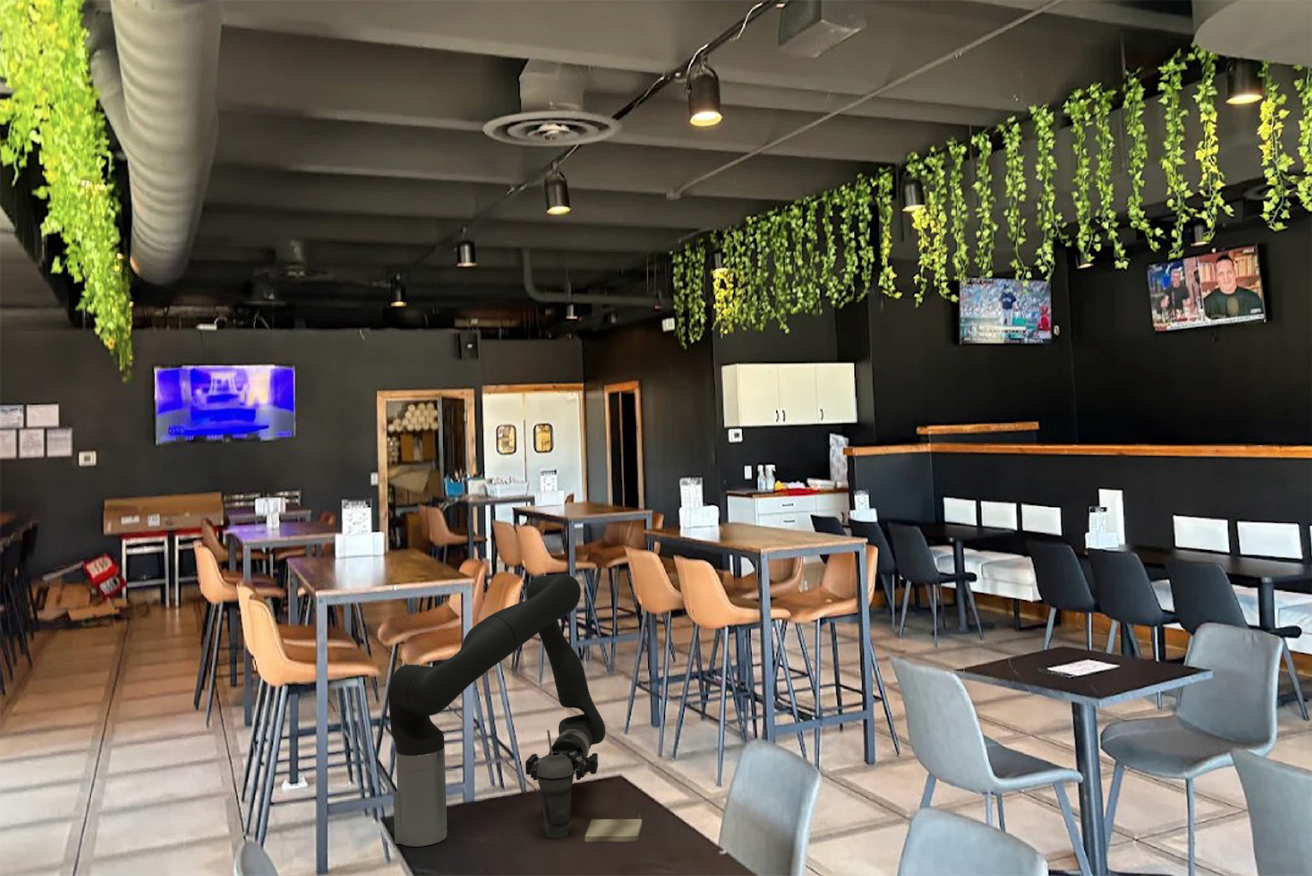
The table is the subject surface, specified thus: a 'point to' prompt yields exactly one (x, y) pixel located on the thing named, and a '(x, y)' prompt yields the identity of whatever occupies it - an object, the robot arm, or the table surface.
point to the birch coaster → (613, 830)
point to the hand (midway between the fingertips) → (556, 775)
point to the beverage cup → (555, 792)
